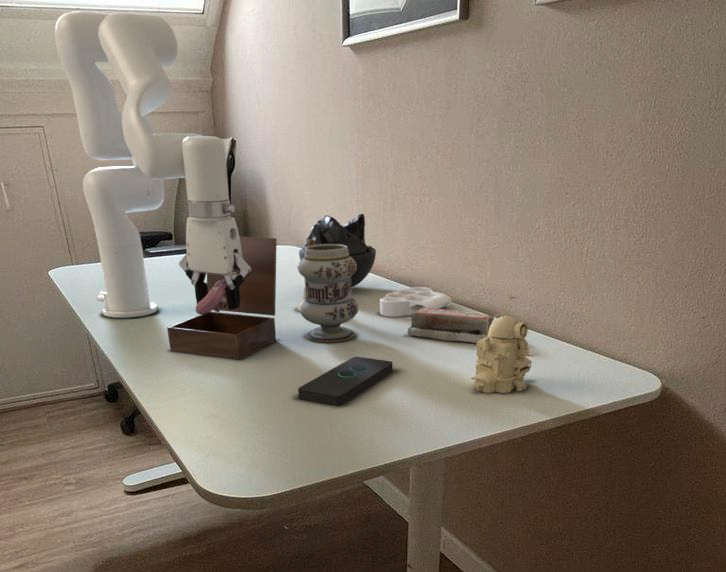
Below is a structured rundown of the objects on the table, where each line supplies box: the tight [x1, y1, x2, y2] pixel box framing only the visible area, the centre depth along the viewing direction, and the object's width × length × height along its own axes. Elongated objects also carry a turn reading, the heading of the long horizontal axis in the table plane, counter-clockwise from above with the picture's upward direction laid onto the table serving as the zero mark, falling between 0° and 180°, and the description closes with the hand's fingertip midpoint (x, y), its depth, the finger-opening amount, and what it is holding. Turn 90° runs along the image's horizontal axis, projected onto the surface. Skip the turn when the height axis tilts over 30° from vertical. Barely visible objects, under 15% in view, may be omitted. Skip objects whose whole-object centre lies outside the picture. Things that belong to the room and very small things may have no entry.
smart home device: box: [297, 356, 394, 406], centre depth 122 cm, size 8×2×20 cm
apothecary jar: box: [297, 244, 360, 343], centre depth 145 cm, size 12×12×18 cm
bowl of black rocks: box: [298, 213, 377, 288], centre depth 185 cm, size 20×20×19 cm
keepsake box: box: [166, 311, 277, 360], centre depth 143 cm, size 14×16×5 cm
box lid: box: [206, 236, 278, 317], centre depth 145 cm, size 15×16×1 cm
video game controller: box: [195, 280, 229, 315], centre depth 140 cm, size 10×5×7 cm, turn 168°
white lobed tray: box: [379, 286, 452, 318], centre depth 168 cm, size 3×18×15 cm
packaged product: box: [406, 307, 495, 344], centre depth 147 cm, size 18×5×10 cm
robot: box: [470, 294, 535, 394], centre depth 116 cm, size 10×8×15 cm
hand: (218, 305), depth 141 cm, fingers closed on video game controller, 6 cm apart
